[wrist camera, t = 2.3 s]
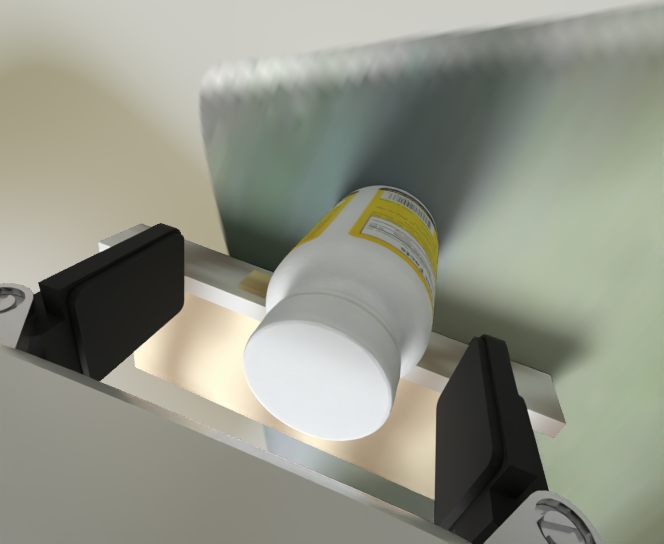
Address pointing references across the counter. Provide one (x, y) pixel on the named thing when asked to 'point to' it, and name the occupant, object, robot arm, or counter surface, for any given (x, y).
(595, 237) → the counter surface
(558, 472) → the counter surface
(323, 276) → the supplement bottle
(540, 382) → the shelf plank
